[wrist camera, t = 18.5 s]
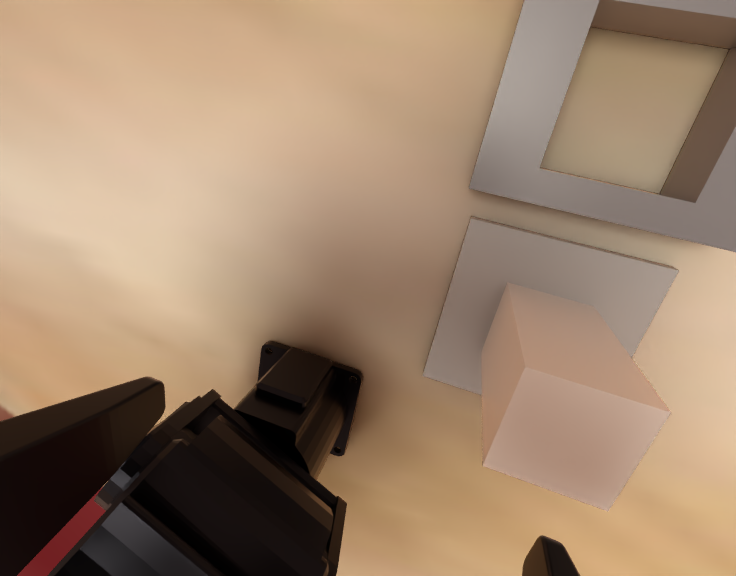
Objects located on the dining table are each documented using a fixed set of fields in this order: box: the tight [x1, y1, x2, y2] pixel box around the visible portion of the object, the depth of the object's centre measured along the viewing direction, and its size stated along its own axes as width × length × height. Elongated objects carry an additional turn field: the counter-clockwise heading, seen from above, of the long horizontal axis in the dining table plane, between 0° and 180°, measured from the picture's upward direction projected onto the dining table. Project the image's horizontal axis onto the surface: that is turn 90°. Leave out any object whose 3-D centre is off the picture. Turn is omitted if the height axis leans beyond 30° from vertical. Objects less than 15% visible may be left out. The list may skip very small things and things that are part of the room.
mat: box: [423, 216, 679, 395], centre depth 19 cm, size 9×9×1 cm
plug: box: [481, 282, 671, 511], centre depth 16 cm, size 4×4×8 cm
